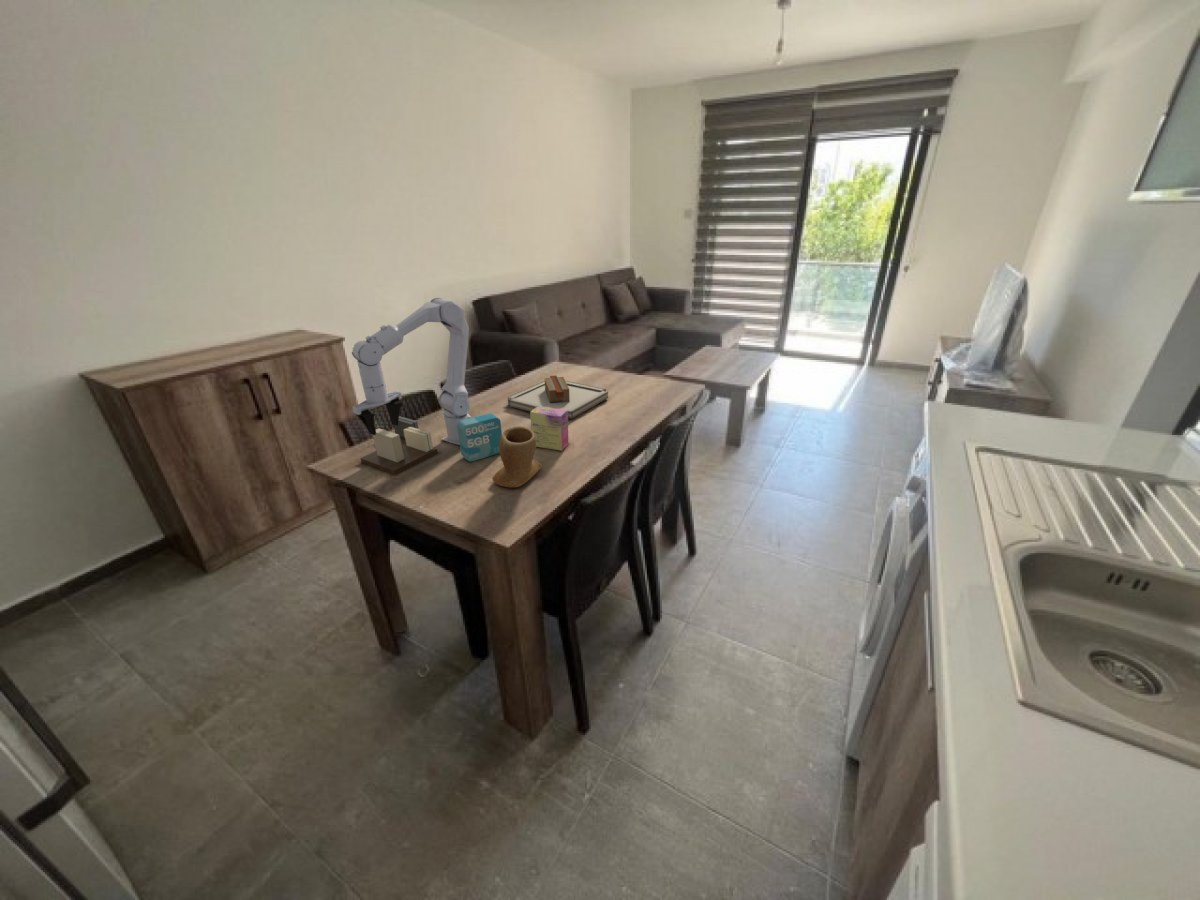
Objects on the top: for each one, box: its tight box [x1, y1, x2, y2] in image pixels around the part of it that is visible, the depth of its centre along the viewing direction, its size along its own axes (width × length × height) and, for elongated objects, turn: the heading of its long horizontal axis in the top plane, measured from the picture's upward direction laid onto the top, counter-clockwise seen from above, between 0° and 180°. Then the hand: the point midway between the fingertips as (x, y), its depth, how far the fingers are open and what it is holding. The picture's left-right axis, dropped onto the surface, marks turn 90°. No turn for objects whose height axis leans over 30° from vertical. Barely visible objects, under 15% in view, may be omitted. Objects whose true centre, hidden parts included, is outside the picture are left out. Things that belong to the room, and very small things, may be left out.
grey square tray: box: [507, 375, 609, 420], centre depth 185 cm, size 30×30×8 cm
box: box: [529, 406, 569, 452], centre depth 150 cm, size 10×6×12 cm, turn 71°
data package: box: [457, 412, 503, 463], centre depth 144 cm, size 12×4×12 cm, turn 126°
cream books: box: [403, 427, 434, 452], centre depth 147 cm, size 9×3×6 cm, turn 59°
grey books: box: [393, 415, 420, 439], centre depth 157 cm, size 9×3×6 cm, turn 59°
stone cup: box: [491, 425, 543, 488], centre depth 131 cm, size 15×12×15 cm
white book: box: [372, 428, 404, 462], centre depth 140 cm, size 9×2×8 cm, turn 59°
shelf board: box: [360, 438, 439, 476], centre depth 145 cm, size 15×16×2 cm
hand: (384, 429), depth 139 cm, fingers open, 7 cm apart
